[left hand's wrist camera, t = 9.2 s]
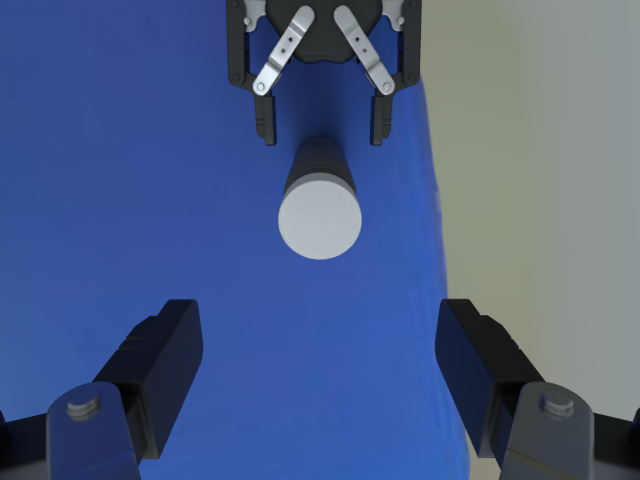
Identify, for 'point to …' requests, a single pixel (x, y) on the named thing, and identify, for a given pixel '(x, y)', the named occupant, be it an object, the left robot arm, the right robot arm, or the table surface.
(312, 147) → the bottle
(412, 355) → the table surface
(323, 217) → the cap
